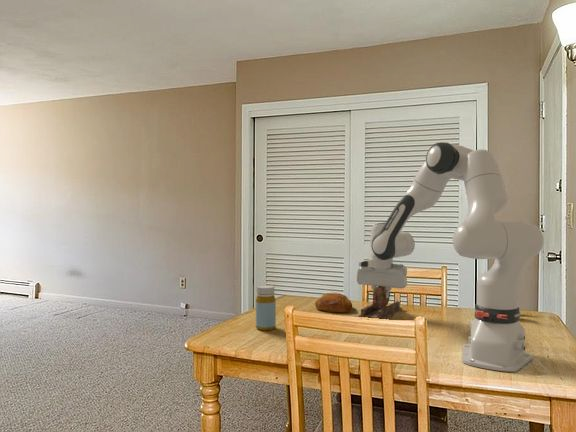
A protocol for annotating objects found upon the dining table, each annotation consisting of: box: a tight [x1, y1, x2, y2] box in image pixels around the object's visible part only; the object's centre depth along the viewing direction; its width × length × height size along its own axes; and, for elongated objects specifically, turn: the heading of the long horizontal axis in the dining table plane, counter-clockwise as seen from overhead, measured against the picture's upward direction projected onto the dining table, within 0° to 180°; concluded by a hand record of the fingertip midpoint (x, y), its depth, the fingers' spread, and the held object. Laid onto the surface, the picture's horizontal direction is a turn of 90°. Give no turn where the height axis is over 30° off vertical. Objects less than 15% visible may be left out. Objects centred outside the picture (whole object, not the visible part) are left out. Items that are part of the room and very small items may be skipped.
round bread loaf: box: [314, 292, 353, 313], centre depth 195 cm, size 14×16×8 cm
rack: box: [357, 300, 403, 320], centre depth 187 cm, size 22×10×4 cm, turn 148°
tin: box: [372, 286, 391, 309], centre depth 187 cm, size 15×3×8 cm, turn 150°
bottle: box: [255, 284, 277, 332], centre depth 166 cm, size 7×7×15 cm
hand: (381, 297), depth 187 cm, fingers closed on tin, 3 cm apart
